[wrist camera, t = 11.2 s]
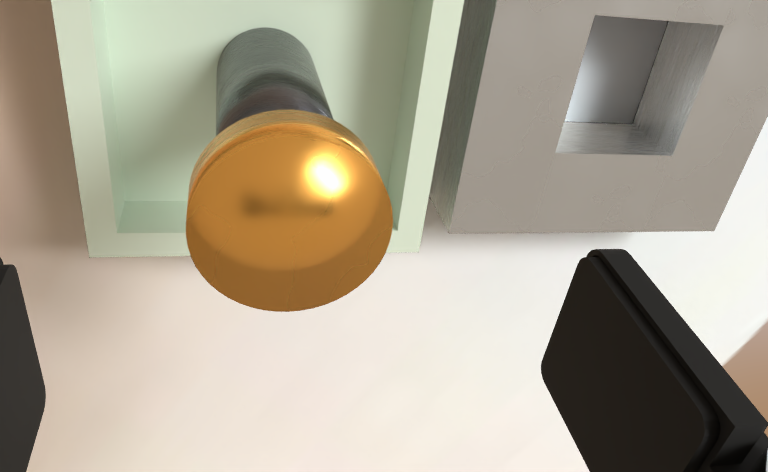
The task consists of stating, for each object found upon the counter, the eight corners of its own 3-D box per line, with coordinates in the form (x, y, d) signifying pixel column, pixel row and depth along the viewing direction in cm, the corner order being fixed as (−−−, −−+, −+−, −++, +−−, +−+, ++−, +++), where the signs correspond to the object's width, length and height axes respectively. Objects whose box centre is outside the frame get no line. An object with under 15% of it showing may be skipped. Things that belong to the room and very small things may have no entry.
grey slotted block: (486, -128, 21) (521, -118, 19) (791, -88, 24) (856, -75, 21) (428, 194, 27) (448, 233, 25) (674, 196, 30) (714, 231, 28)
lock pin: (196, 3, 21) (180, 135, 13) (337, 14, 22) (406, 140, 14) (200, 135, 23) (189, 315, 15) (327, 138, 24) (380, 308, 16)
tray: (54, -144, 19) (31, -135, 16) (452, -97, 21) (479, -84, 19) (101, 215, 25) (89, 257, 23) (402, 215, 28) (418, 252, 25)
